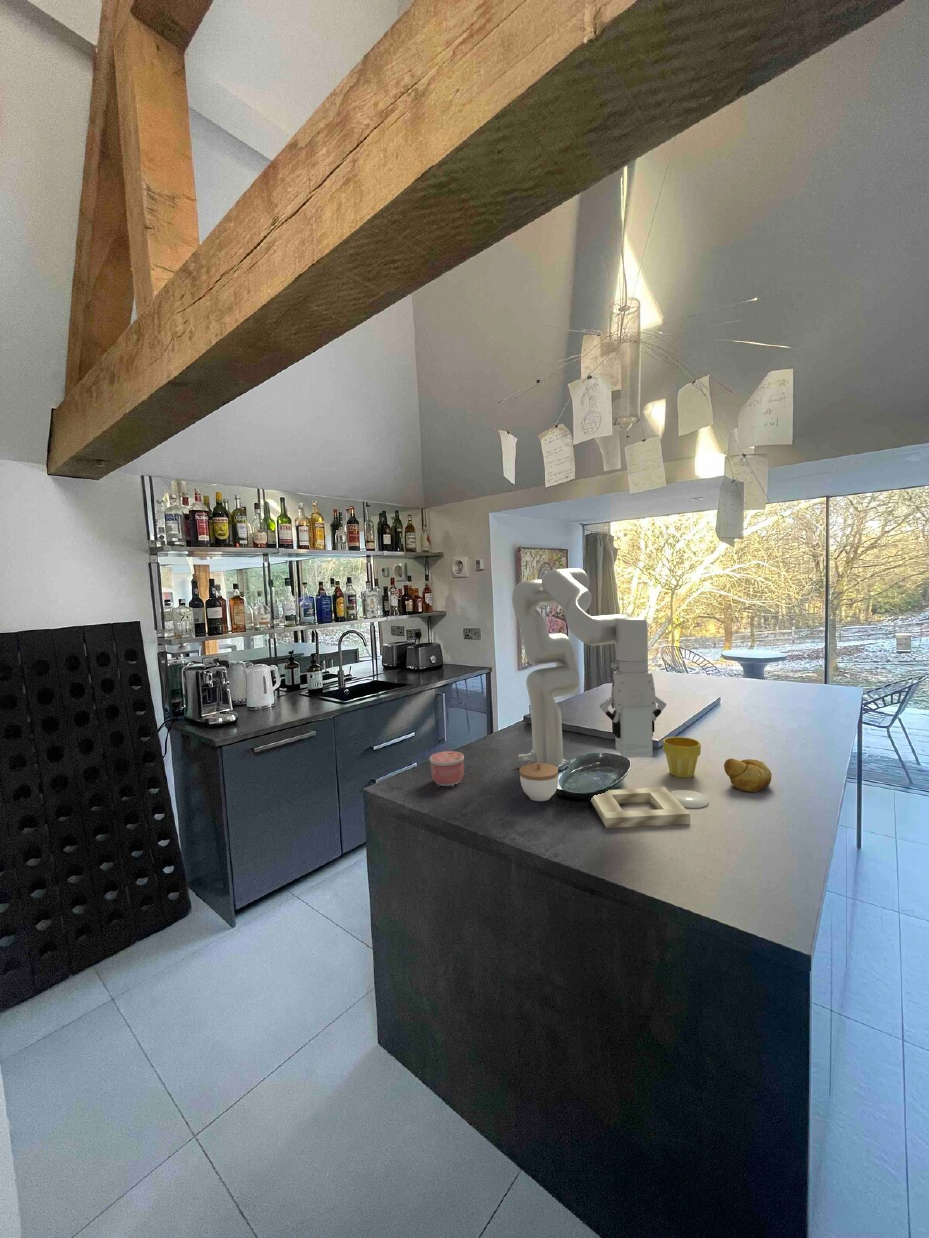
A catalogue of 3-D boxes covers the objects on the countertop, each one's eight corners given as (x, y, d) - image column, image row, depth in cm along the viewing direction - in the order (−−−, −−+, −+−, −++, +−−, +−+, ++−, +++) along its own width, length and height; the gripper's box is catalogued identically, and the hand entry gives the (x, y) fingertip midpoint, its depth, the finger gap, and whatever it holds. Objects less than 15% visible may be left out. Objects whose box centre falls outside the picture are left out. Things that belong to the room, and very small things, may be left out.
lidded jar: (561, 789, 147) (559, 757, 146) (557, 806, 136) (556, 771, 136) (523, 787, 149) (522, 756, 149) (517, 803, 139) (515, 769, 138)
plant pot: (703, 770, 155) (702, 738, 155) (699, 782, 146) (698, 748, 146) (666, 765, 161) (665, 734, 160) (660, 777, 152) (659, 744, 151)
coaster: (676, 809, 131) (676, 806, 131) (661, 793, 141) (661, 790, 141) (716, 807, 130) (716, 804, 130) (698, 791, 140) (698, 789, 140)
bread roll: (749, 775, 149) (749, 748, 149) (783, 786, 141) (783, 757, 140) (720, 785, 143) (720, 757, 143) (754, 797, 135) (753, 767, 134)
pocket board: (606, 828, 123) (606, 817, 123) (590, 800, 139) (589, 790, 139) (690, 823, 123) (690, 813, 122) (664, 796, 139) (664, 787, 138)
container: (458, 790, 150) (457, 763, 150) (425, 787, 154) (423, 761, 153) (469, 777, 160) (468, 751, 160) (438, 774, 164) (437, 750, 163)
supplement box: (653, 757, 126) (652, 706, 125) (623, 758, 127) (622, 708, 125) (643, 747, 134) (642, 699, 133) (614, 748, 134) (613, 700, 133)
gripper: (601, 671, 125) (602, 742, 126) (673, 667, 124) (673, 739, 126) (593, 665, 132) (595, 732, 134) (661, 662, 132) (662, 729, 133)
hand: (633, 735), depth 130 cm, fingers closed on supplement box, 7 cm apart
